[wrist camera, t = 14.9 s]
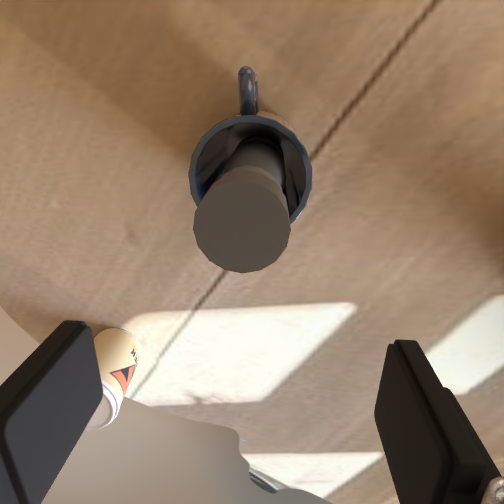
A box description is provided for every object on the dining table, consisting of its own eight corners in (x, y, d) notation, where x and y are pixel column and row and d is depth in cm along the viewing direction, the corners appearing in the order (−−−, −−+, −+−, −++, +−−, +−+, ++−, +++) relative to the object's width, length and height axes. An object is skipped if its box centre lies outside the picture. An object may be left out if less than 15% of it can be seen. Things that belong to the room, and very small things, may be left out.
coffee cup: (141, 375, 59) (112, 439, 48) (86, 361, 59) (43, 422, 48) (150, 332, 56) (120, 390, 45) (92, 316, 55) (46, 371, 44)
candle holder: (272, 192, 45) (270, 290, 22) (226, 173, 44) (175, 255, 21) (292, 145, 42) (313, 201, 20) (244, 125, 42) (208, 158, 19)
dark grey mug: (301, 200, 46) (311, 236, 34) (216, 204, 47) (196, 240, 35) (301, 70, 40) (313, 58, 28) (203, 76, 41) (174, 68, 29)
